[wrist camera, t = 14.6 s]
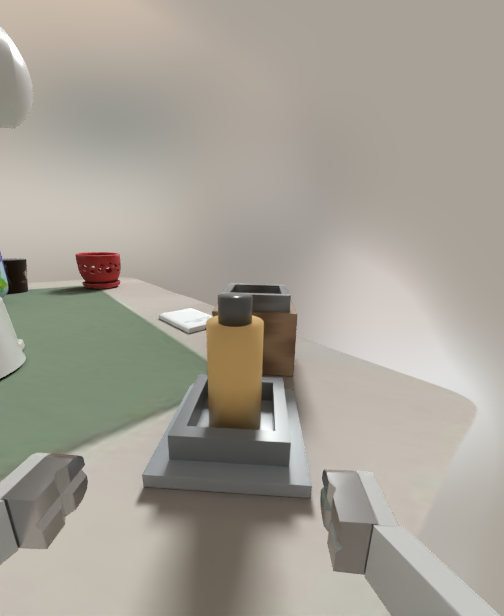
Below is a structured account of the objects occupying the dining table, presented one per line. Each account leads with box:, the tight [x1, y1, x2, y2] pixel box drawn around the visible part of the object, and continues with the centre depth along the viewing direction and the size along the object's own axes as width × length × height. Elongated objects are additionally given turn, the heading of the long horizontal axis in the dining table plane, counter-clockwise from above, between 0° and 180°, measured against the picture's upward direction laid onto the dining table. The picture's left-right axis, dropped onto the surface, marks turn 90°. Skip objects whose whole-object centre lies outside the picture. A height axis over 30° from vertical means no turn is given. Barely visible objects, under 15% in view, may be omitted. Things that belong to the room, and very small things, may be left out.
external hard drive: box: [159, 308, 213, 333], centre depth 52 cm, size 2×8×12 cm
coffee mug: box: [2, 259, 28, 294], centre depth 75 cm, size 12×9×10 cm
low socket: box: [142, 374, 312, 498], centre depth 21 cm, size 11×11×3 cm
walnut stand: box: [212, 283, 297, 376], centre depth 35 cm, size 10×10×10 cm
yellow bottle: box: [206, 293, 264, 430], centre depth 20 cm, size 4×4×11 cm
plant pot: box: [76, 252, 121, 289], centre depth 88 cm, size 13×13×12 cm
